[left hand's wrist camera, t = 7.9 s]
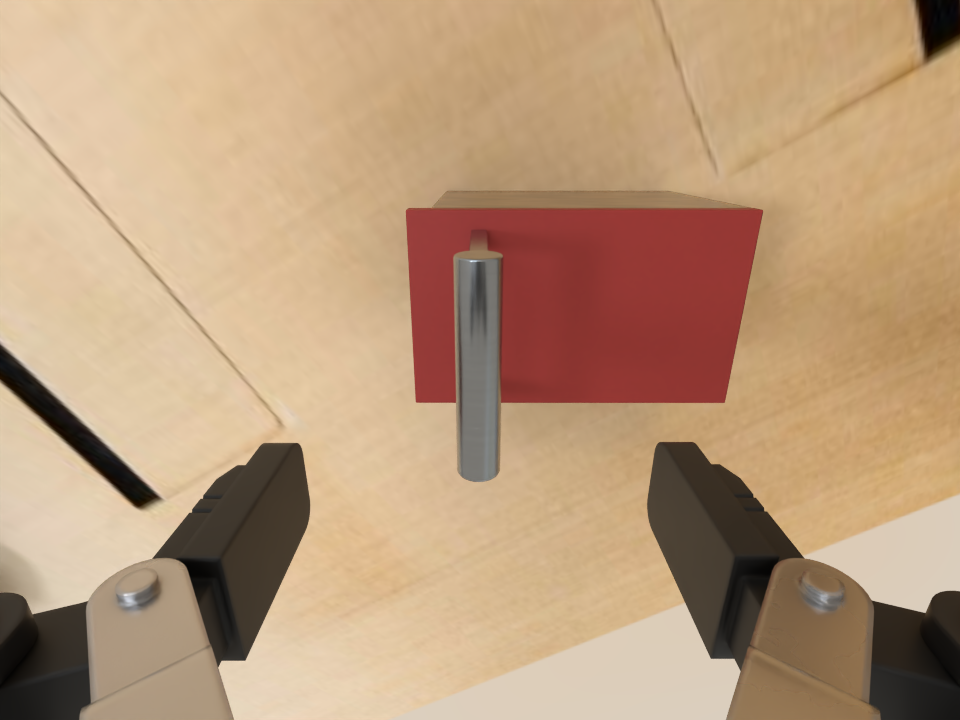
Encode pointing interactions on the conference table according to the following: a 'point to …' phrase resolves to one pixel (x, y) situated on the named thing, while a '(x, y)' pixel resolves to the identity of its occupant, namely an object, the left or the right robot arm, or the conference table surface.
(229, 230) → the conference table surface
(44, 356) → the conference table surface
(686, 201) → the chest
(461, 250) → the lid
